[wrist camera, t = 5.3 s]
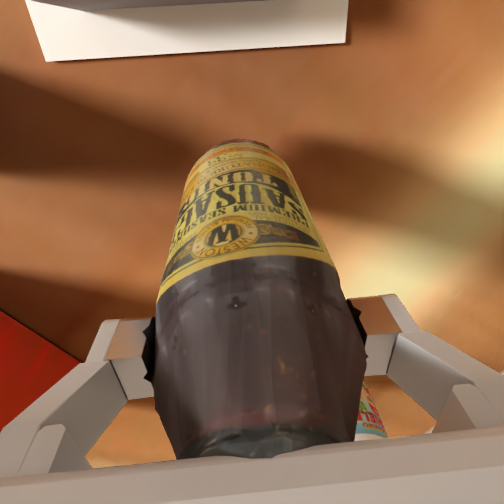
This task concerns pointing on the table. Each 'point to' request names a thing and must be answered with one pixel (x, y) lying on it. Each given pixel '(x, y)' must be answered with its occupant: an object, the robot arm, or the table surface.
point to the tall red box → (26, 367)
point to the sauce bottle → (252, 317)
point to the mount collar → (181, 26)
